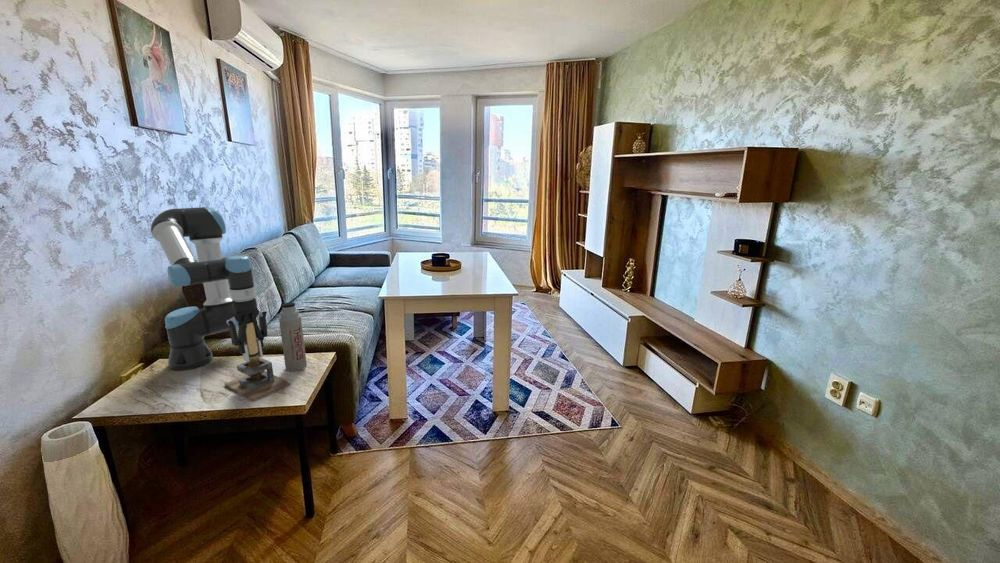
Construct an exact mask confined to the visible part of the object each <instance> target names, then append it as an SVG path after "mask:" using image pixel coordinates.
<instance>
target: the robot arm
mask: <svg viewBox="0 0 1000 563" xmlns="http://www.w3.org/2000/svg"><path fill="white" fill-rule="evenodd" d="M150 232H151V235H152V237H153V239H154V240H155V241H157V242H159V243H160V245H161V248H162V250H163V251H164V254H165V256H166V258H167V260H168V261H169V266H167V276H168V280H169V282H170V284H171V286H173V287H184V286H185V287H187V286H193V285H199V284H203V288H204V292H205V293H204V294H205V297H206V300H205V301H204V302H203V308H199V307H198V306H187V307H182V308H178V309H175V310H173V311H171V312H169V313H167V315H166V316H165V317H164V323H165V326H164V327H165V329H166V332H167V339H168V343H169V347H170V351H169V355H168V360H167V364H168V368H169V369H170V370H171V371H172V370H173V371H186V370H191V369H196V368H199V367H201V366H204V365H206V364H208V363H210V362H211V361H212V360H213V358H214V357H213V352H212V351H211V350H210V348H209V346H208V345H207V343H206V341H205V337H206V336H211V335H216V334H219V333H223V332H229V336H230V340H231V344H232V345H234V346H236V347H237V346H238V348H239V349H238V350H239V353H240V354H241V355H242V359H243V361H245V362H249V361H250V360H249V354H248V348H247V345H246V344H245V330H246V329H245V328H246V326H247V323H250V322H253V323H254V325H255V331H256V337H257V344H258V350H259V357H260V358H263V357H264V355H263V349H262V348H264V340H265V338H266V337H268V329H267V328H268V327H267V320H266V318H267V311H265V310H259V308H258V303H257V302H258V301H257V298H256V297H257V296H256V289H255V283H254V282H255V281H254V276H253V269H252V267H253V266H252V263H251V259H250V257H249V256H248V255H234V256H233V255H231V256H224V257H223V254H222V249H221V248H222V247H221V243H220V242H221V241H222V240H223V239H224V238H223V235H225V234H226V232H227V226H226V223H225V220H224V218H223V214H222V213H221V212H220V210H219V209H217V208H216V207H209V206H206V207H204V206H203V207H202V206H201V207H187V208H186V207H184V208H182V207H181V208H176V207H175V208H169V209H167V210H164V211H162V212H160V213H159V214H158V215H157V216H156V217H155V218H154V219H153V221H152V223H151V224H150ZM185 237H186V238H189V242H191V243H193V245H194V246H195V249H196V250H195V251H196V254H197V259H198V260H197V259H196V257H195V255H194V252H193V251H192V249H191V247H190V246H189V244H188V242H187V240H186V238H185ZM257 318H258V319H259V320H257ZM258 321H259V322H258ZM258 323H259V324H258ZM237 329H238V331H237Z"/></svg>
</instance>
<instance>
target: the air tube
mask: <svg viewBox="0 0 1000 563" xmlns="http://www.w3.org/2000/svg"><path fill="white" fill-rule="evenodd" d="M245 329H246V330H245V344H246V345H247V348H248V354H249V360H250V361H249V362H248V367H249V368H250V369H251V368H254V367H256V366H259V365H261V363H260V358H261V357H259V350H258V344H257V337H256V331H255V325H254V323H253V322H250V323H247V326H246V328H245ZM260 377H262V372H259V373H256V374H254V375H251V376H250V378H251V379H258V378H260Z"/></svg>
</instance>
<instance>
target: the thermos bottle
mask: <svg viewBox="0 0 1000 563" xmlns="http://www.w3.org/2000/svg"><path fill="white" fill-rule="evenodd" d="M280 306H281V311H280V313H279V318H278V323H279V331H280V337H281V345H282V351H283V360H284V367H285V370H286V371H287V370H288V371H287V372H298V371H302V370H303V368H304V369H305V368H307V366H308V362H307V355H306V350H305V349H306V347H305V339H304V332H303V331H304V330H303V324H302V323H303V322H302V316H301V314H300V312H299V309H296V303H295V302H292V301H289V302H284V303H282V304H281V305H280ZM301 369H302V370H301ZM297 370H298V371H297Z"/></svg>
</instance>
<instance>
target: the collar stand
mask: <svg viewBox="0 0 1000 563" xmlns="http://www.w3.org/2000/svg"><path fill="white" fill-rule="evenodd" d="M260 363H261V365H259V366H256V367H254V368H251V369H250V368H249V367H248V362H247V361H245V362H242V363H239V364H237V365H236V370H237V371H238V372H240V373H242V374H244V375H242V376H240V377H238V378H235V379H233V380H230V381H227V382H224V386H225V387H226V388H227V389H230V390H232V391H233V392H235V393H236V394H238V395H240V396H243V397H244V398H246V399H248V400H250V401H251V402H254V401H257V400H259V399H261V398H263V397H266V396H268V395H271V394H272V393H275V392H277V391H279V390H282V389H284V388H286V387H289V386H290V385H291V383H290V382H291V381H287V380H286V379H284V378H281V377H279V376H277V375H274V370H273V369H274V368H273V363H272V361H269V360H267V359H265V358H263V357H260ZM259 372H262V377H260V378H258V379H251V378H250V376H251V375H254V374H256V373H259Z"/></svg>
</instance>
